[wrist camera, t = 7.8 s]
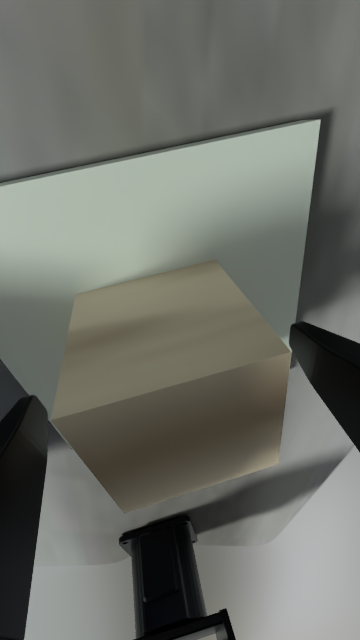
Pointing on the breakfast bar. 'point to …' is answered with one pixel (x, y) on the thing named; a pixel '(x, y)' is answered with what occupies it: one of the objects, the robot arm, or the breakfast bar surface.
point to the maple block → (171, 385)
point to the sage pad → (152, 234)
